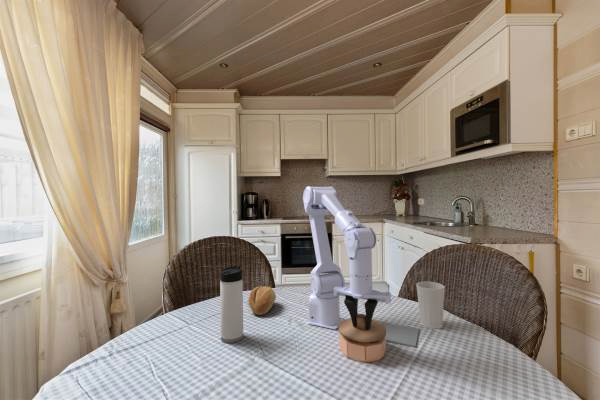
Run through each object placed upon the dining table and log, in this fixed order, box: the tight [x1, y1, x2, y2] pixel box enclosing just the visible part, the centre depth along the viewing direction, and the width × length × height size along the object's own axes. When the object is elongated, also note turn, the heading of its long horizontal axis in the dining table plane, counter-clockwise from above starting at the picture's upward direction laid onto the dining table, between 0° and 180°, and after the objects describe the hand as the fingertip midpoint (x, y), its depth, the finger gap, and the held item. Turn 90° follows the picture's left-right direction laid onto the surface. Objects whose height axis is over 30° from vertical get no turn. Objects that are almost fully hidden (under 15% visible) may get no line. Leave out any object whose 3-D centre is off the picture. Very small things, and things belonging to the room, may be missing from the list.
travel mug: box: [219, 264, 244, 344], centre depth 78 cm, size 6×7×20 cm
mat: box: [380, 321, 420, 348], centre depth 78 cm, size 11×11×1 cm
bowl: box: [338, 333, 387, 363], centre depth 70 cm, size 11×11×4 cm
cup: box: [415, 281, 446, 330], centre depth 84 cm, size 8×8×12 cm
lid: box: [338, 313, 386, 342], centre depth 70 cm, size 12×12×4 cm
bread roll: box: [247, 285, 277, 316], centre depth 99 cm, size 10×15×8 cm, turn 179°
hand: (361, 326), depth 70 cm, fingers closed on lid, 3 cm apart
